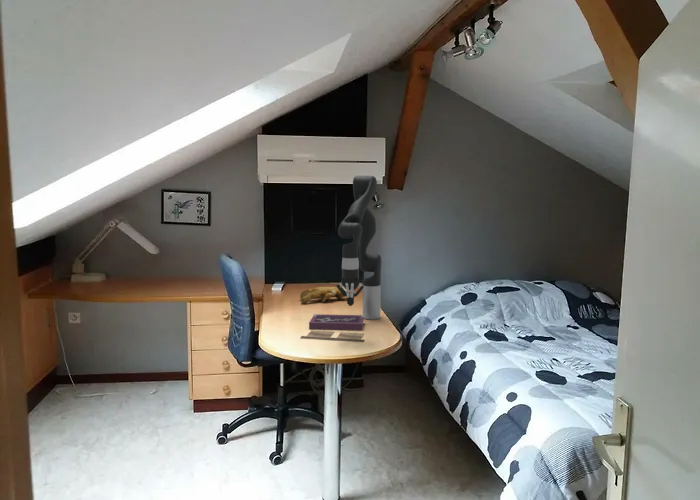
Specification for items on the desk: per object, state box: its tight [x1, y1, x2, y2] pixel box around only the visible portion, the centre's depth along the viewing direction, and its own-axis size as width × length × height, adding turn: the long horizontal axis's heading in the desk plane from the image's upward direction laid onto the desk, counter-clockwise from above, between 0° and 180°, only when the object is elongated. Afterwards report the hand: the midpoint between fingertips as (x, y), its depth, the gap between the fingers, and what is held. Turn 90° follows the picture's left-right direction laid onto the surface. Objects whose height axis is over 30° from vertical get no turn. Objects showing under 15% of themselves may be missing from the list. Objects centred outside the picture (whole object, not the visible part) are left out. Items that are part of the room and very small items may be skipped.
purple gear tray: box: [308, 313, 366, 331], centre depth 264 cm, size 25×16×5 cm, turn 85°
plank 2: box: [336, 331, 365, 339], centre depth 245 cm, size 9×11×1 cm
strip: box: [299, 335, 365, 343], centre depth 241 cm, size 3×29×2 cm, turn 78°
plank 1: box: [306, 329, 335, 338], centre depth 248 cm, size 9×11×1 cm
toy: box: [300, 286, 346, 305], centre depth 321 cm, size 14×9×30 cm
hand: (350, 305), depth 245 cm, fingers closed
